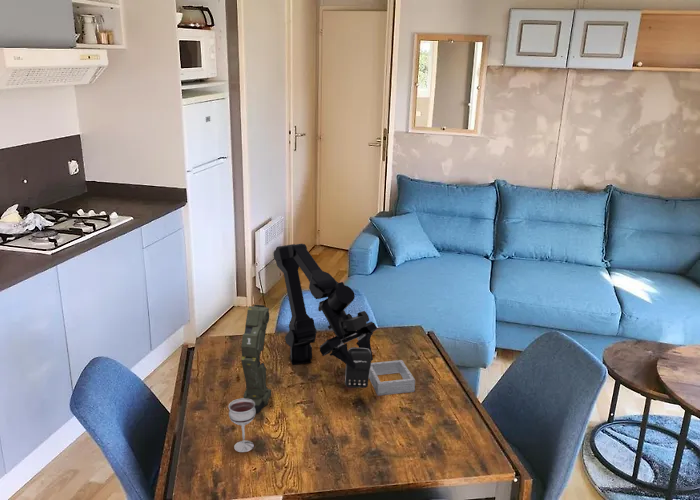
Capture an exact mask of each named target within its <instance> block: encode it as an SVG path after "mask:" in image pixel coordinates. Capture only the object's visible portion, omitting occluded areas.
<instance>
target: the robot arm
mask: <svg viewBox="0 0 700 500" xmlns="http://www.w3.org/2000/svg"><path fill="white" fill-rule="evenodd" d="M273 259H274V261H275V263H276V266H277V268H278V269H279V270H280V271H281V272H282V274H283V276H284V277H283V278H284V283H285V287H286V293H287V298H288V304H289V308H290V313H291V319H290V320H289V324H288V332H287V333H286V335H285V336H284V340H285V343H286V345H288V346H289V349H290V354H289V359H290V362H291V365H301V364H311V363H312V358H313V347H312V343H313V344H314V343H315V341H316V336H317V333H318V332H317V328H316V324H315V320H314V318H313V317H310V316H309V315H308V313H307V308H306V304H305V298H304V295H303V290H302V284H301V280H300V279H301V278H300V274H299V269H300V270H301V271H302V273H303V275H304V276H305V277H306V279H308V282H309V284H308V289H309V291H310V294H311V295H312V296H313V298H314V299H315V300H320V299H324V300H322V301H319V302H318V304H319V305H318V310H317V311H318V312H322V313H323V315H324V316H325V319H326V321H327V322H328V324H329V325H328V326H327V328H328V330H329V331H330V330H332V331H333V333H334V335H335V336H333V337H331V338H329V339H327V340H325V341H324V342H323V343H322V344H321V345H320V346H319V352H320V353H321V356H323V357H324V356H327V355H328V354H329V356H333V357H335V358H336V359H338V360H340V361H341V362H342V363H344V364H345V365H346V364H347V365H348V366H349V367H351V368H352V369H355V368H356V366H355V363H354V361H353V360H352V358H351V356H350V354H349V352H348V350H349V349H348V342H351V341H353V340H355V339H357V342H356V345H357V347H360V348H368V349H369V350H370V352H371V362H372V361H373V360H374V357H373V351H372V347H371V339H372V338H371V337H372V336H373V334H374V332H375V331H377V330H378V327H377V326H376V323H375V322H372V321H370V317H369V314H368V313H367V312H366V311H365V310H362V311H360V312H358V313H357V316H355V317H353V315H352V314H350V313H348V314H347V312H346V311H345V310H346V309H347V308H348V307H349V306H350V305H351V304H352V303H353V301H354V300H355V296H356V295H355V292H354V290H353V289H352V288H351V287H350V286H348V285H345V283H344V282H343V281H340V282H338V281H337V280H336V279H335V278H334V277H333V276H332V275H331V273H329V272H326V271H323V269H322V268H321V267H320V266H319V265H318V263H317V261H315V259H314V257H313V256H312V255H311V253H310V252H309V250H308V247H307V245H306V244H305V243H293V244H291V243H290V244H285V245H279V246H276V248H275V250H273Z"/></svg>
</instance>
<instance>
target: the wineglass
mask: <svg viewBox="0 0 700 500" xmlns="http://www.w3.org/2000/svg"><path fill="white" fill-rule="evenodd" d="M254 406H255V402H254V401H253V400H251V399H247V398H243V397H242V398H237V399H234V400H232V401H230V403H229V404H228V409H229V410H228V417H229V420H230V421H231V422H232V423H233V424H235V425H236V426H237V425H238V426H241V434H242V435H241V437H242V440H240V441H238V442H236V443H235V444H234V446H233V448H234V450H235V451H236V452H239V453H247V452H249V451H251V450H253V449H254V442H253V441H250V440H246V439H245V438H246V437H245V436H246V435H245V433H246V432H245V431H246V430H245V426H246V425H249V424H250V423H251V422H252V421H253V420H254V419H255V417H256V415H257V413H256V409H255V407H254Z"/></svg>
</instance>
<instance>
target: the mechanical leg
mask: <svg viewBox="0 0 700 500" xmlns="http://www.w3.org/2000/svg"><path fill="white" fill-rule="evenodd" d="M269 322H270V308H269V307H267V306H266V307H265V304H264V305H263V304H254V305H253V306H252V305H249V306H248V308H247V311H246V318H245V326H244V333H243V334H242V338H241V346H240V347H241V349H240V350H241V359H240V361H241V365H242V371H243V376H244V380H245V381H244V382H245V390H244V392H243V395H242V398H247V399H251V400H253V401H254V402H255V406H254V407H255V409H256V415H257V414H259V413H261V411H262V410H263V408H265V406H268V404H269V399H270V397H271V396H272V389H270V388H269V389H268V387H267V384H266V382H267V368H266V366H265V363H264V362H261V359H260V358H261V353H262V351H264V346H265V339H266V331H267V327H268V324H269Z"/></svg>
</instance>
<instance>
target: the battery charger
mask: <svg viewBox="0 0 700 500" xmlns="http://www.w3.org/2000/svg"><path fill="white" fill-rule="evenodd" d="M347 350H348V352H349V354H350V356H351V358H352V360H353V361H354V363H355V366H356V368H355V369H352V368H351V367H349V366H348V365H347V364H345V378H344V385H345V386H346V388H347V387H348V388H351V389H352V388H353V389H354V388H356V389H366V388H368V385H369V378H368V377H369V371H370V368H371V363H372V361H371V352H370V350H369V349H368V348H360V347H359V346H357V347H350V348H349V349H347Z"/></svg>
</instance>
